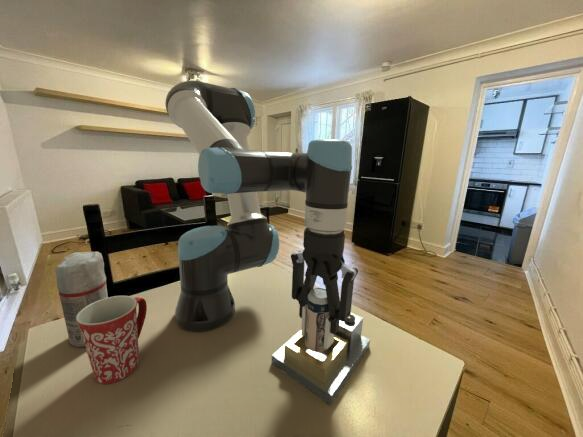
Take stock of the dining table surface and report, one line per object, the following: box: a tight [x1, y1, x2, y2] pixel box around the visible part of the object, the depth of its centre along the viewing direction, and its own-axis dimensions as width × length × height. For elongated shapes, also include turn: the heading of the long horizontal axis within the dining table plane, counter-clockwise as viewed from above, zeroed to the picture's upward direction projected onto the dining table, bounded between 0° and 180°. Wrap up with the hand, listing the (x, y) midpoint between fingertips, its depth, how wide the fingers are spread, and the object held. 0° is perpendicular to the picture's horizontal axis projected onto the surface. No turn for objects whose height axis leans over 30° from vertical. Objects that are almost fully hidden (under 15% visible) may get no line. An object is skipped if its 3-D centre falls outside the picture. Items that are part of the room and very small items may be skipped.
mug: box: [76, 295, 148, 385], centre depth 49 cm, size 13×9×14 cm
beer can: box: [305, 287, 329, 352], centre depth 49 cm, size 5×5×12 cm
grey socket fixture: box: [271, 312, 371, 406], centre depth 53 cm, size 14×18×8 cm
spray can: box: [54, 251, 109, 348], centre depth 55 cm, size 8×8×20 cm
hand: (317, 338), depth 50 cm, fingers closed on beer can, 5 cm apart
